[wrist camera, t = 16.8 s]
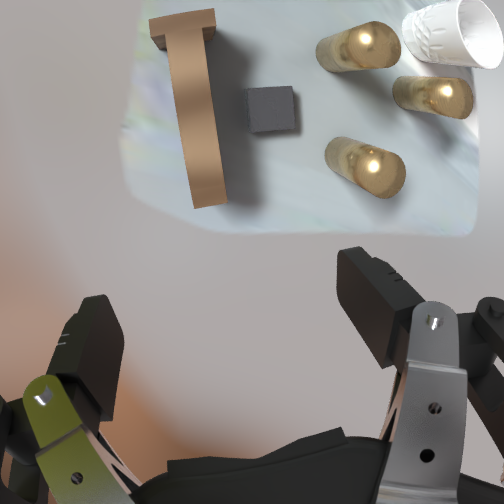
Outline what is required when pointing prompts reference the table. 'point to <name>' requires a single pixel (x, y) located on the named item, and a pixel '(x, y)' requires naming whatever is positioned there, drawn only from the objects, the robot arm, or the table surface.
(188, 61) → the rake
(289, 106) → the grey square block
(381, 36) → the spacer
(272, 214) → the table surface
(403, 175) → the cylinder
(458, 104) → the cylinder
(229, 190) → the table surface
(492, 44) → the white cup
